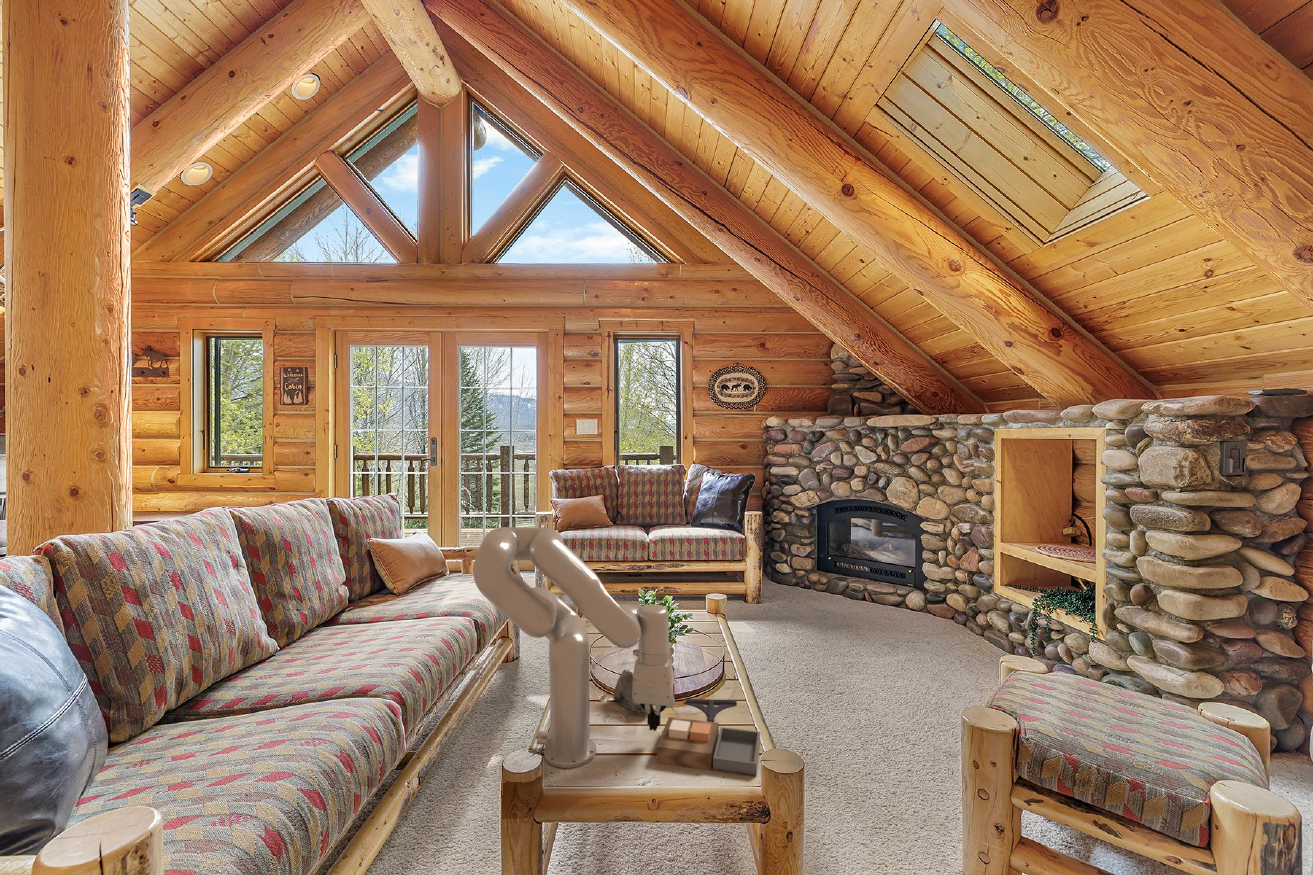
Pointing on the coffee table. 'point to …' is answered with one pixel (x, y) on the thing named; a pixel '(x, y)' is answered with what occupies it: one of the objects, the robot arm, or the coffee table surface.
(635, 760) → the coffee table surface
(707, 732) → the terracotta tile
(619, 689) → the mineral rock
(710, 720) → the bracket
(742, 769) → the box
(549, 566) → the robot arm
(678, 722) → the cream tile
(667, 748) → the tan square panel
